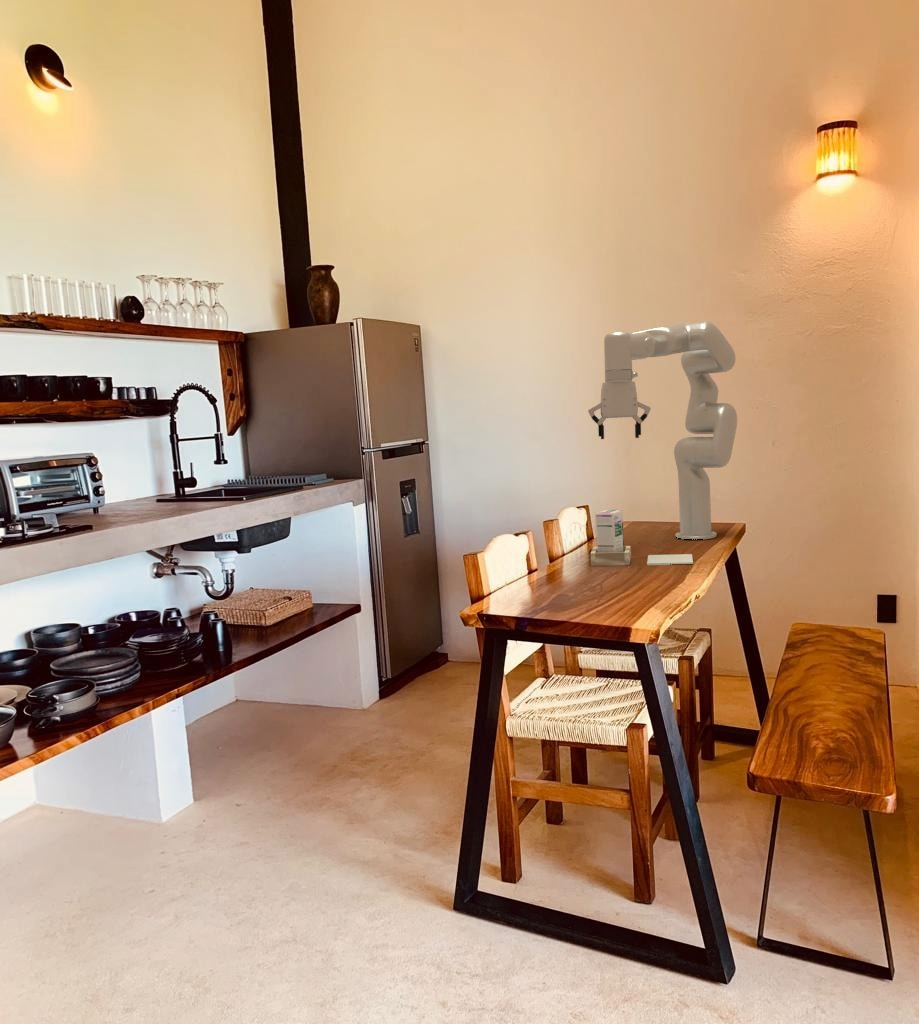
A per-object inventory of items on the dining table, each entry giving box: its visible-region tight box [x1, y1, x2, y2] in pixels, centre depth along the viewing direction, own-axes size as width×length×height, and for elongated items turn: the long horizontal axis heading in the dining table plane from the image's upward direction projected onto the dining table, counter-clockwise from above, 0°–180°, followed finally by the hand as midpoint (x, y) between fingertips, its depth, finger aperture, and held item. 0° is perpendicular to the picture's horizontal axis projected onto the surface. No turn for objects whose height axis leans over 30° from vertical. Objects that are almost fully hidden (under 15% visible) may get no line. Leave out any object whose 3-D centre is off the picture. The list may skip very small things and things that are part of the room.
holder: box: [590, 545, 632, 567], centre depth 239 cm, size 10×10×4 cm
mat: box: [646, 553, 694, 566], centre depth 236 cm, size 12×12×1 cm
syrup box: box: [594, 509, 625, 553], centre depth 239 cm, size 6×6×14 cm
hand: (619, 438), depth 241 cm, fingers open, 9 cm apart
